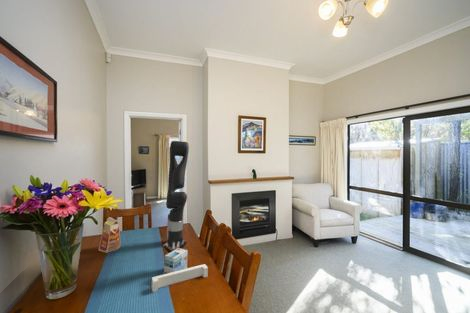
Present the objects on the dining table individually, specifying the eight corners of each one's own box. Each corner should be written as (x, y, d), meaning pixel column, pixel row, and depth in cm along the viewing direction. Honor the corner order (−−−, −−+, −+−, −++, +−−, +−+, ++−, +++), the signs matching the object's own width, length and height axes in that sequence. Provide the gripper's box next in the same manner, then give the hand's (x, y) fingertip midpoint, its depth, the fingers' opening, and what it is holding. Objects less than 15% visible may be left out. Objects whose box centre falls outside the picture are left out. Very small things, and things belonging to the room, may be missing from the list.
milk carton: (98, 250, 124) (100, 218, 124) (112, 244, 132) (113, 214, 133) (108, 253, 121) (109, 220, 121) (121, 247, 129) (123, 216, 130)
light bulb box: (173, 281, 95) (174, 258, 95) (163, 277, 98) (164, 255, 98) (187, 270, 105) (188, 250, 105) (177, 267, 108) (178, 247, 108)
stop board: (151, 287, 90) (152, 277, 90) (204, 272, 103) (204, 263, 104) (152, 292, 87) (153, 282, 87) (207, 276, 100) (208, 267, 100)
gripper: (185, 224, 114) (184, 254, 114) (161, 227, 107) (160, 259, 107) (189, 228, 108) (188, 260, 108) (164, 232, 101) (163, 266, 101)
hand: (174, 260), depth 107 cm, fingers closed
